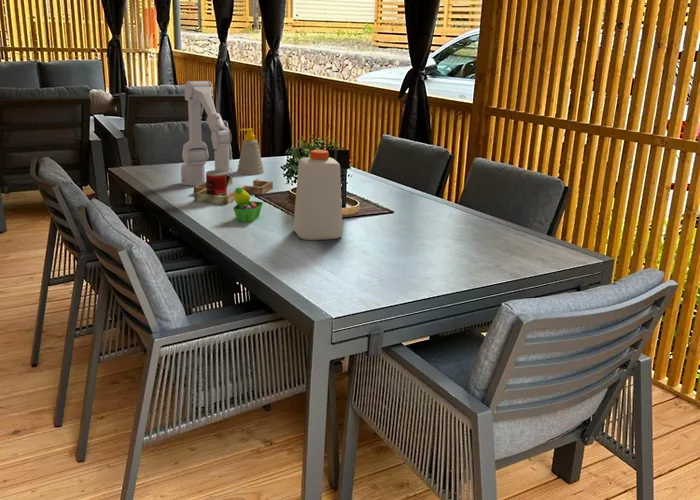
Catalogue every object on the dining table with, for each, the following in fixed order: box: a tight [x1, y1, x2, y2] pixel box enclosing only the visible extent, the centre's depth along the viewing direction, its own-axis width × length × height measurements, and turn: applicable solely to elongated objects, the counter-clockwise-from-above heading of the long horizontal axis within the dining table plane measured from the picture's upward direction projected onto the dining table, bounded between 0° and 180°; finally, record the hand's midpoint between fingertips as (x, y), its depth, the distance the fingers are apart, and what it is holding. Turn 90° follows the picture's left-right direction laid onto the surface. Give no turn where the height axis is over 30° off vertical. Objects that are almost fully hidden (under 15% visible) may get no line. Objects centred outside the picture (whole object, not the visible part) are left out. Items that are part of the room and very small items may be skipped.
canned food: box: [205, 169, 228, 196], centre depth 258 cm, size 8×8×11 cm
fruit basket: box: [232, 187, 264, 223], centre depth 235 cm, size 11×9×11 cm
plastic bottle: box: [292, 149, 343, 241], centre depth 218 cm, size 15×15×28 cm
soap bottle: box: [236, 128, 265, 176], centre depth 308 cm, size 12×12×20 cm
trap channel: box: [193, 176, 274, 206], centre depth 270 cm, size 26×34×3 cm
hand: (222, 193), depth 266 cm, fingers closed
